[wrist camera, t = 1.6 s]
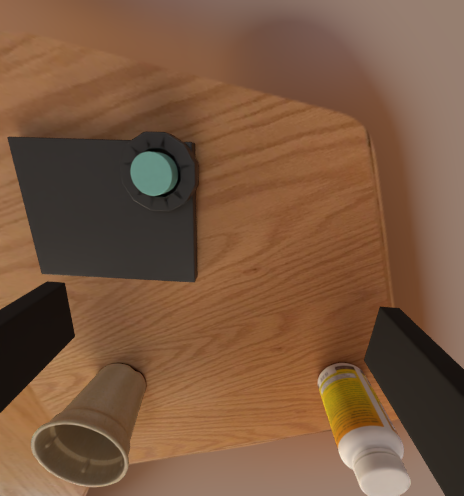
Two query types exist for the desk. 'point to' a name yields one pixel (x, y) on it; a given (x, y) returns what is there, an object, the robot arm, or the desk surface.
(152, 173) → the button
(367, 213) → the desk surface
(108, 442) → the flower pot
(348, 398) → the supplement bottle
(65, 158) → the scale
